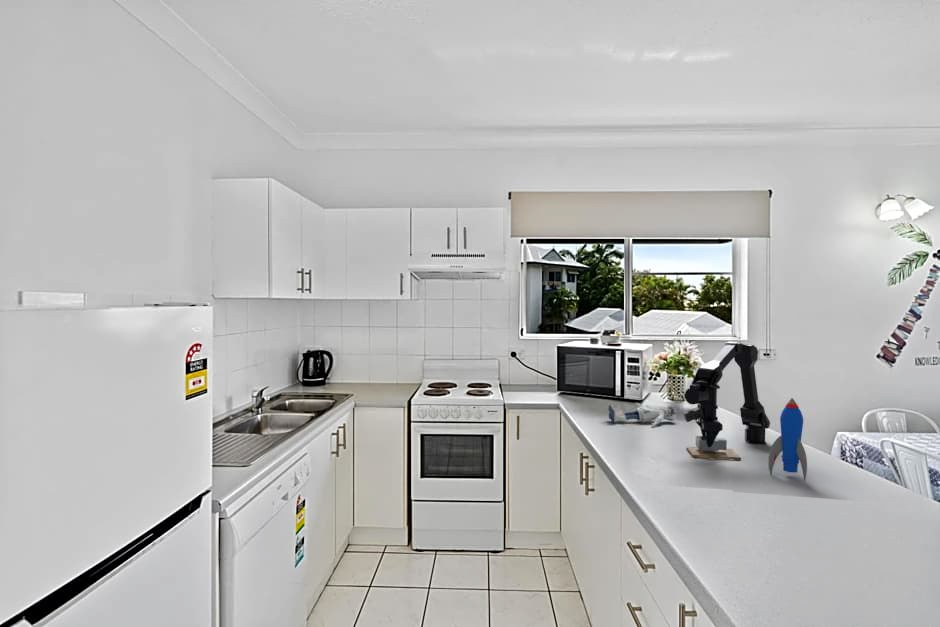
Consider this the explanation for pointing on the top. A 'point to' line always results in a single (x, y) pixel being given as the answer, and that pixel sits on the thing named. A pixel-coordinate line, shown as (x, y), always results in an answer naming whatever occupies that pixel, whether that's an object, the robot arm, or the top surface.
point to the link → (716, 446)
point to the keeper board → (713, 453)
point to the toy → (643, 414)
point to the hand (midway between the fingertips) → (707, 444)
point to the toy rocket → (790, 441)
